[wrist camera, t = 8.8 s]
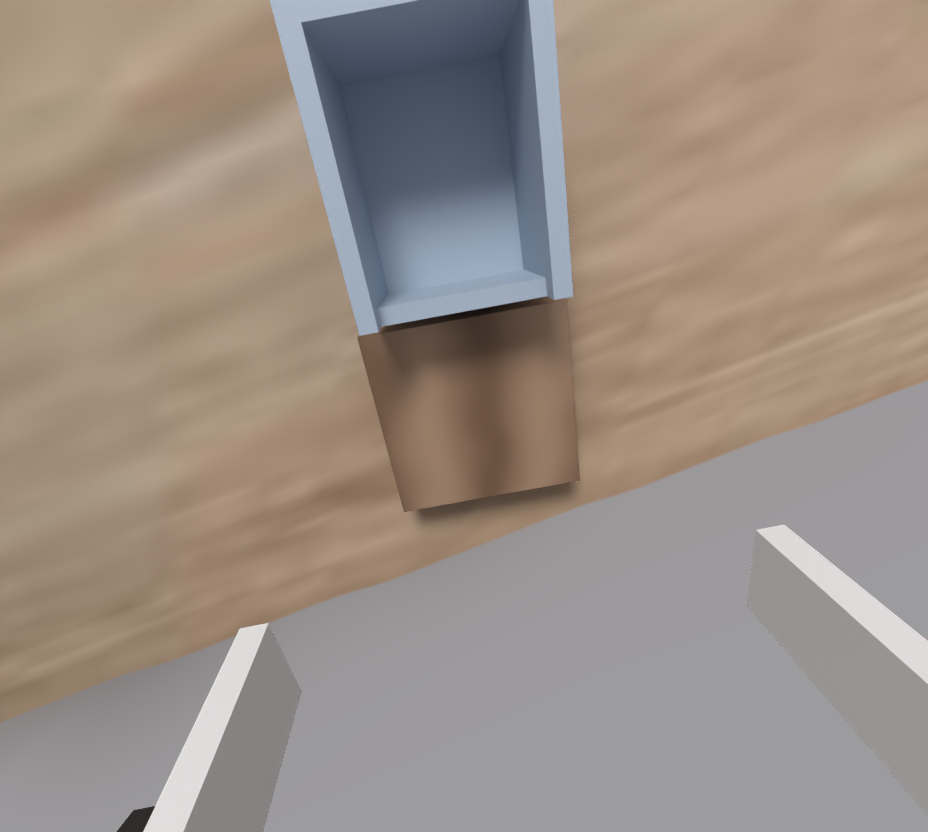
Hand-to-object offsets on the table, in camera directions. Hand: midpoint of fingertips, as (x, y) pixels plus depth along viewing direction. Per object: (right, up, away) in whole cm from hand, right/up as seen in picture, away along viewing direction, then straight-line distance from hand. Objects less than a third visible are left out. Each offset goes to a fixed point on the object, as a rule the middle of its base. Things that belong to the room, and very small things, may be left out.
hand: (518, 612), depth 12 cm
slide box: (-3, +17, +10) cm, 20 cm away
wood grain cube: (-1, +6, +15) cm, 17 cm away
